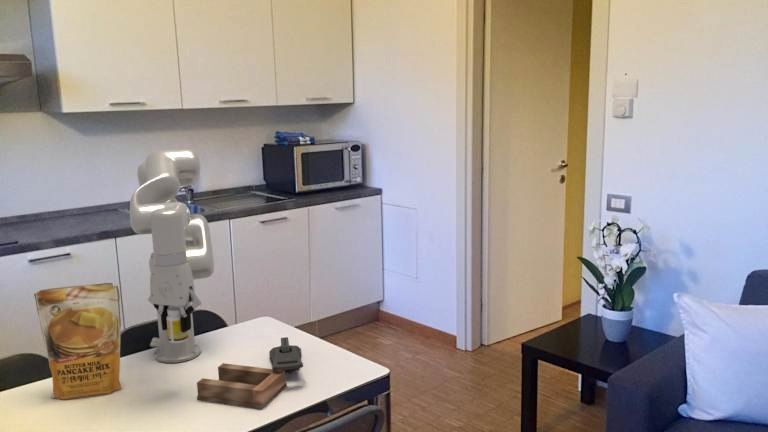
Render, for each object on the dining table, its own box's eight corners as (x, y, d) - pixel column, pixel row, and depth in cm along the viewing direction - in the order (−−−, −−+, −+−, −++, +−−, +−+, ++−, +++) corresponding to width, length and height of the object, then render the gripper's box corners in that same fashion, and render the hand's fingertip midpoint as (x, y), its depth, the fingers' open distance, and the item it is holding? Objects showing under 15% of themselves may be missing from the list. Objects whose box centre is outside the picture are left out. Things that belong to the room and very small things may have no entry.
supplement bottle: (192, 337, 165) (189, 305, 163) (180, 344, 160) (177, 312, 159) (176, 335, 166) (173, 303, 165) (164, 342, 162) (161, 310, 160)
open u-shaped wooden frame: (197, 400, 161) (195, 383, 160) (225, 378, 173) (224, 362, 173) (262, 409, 156) (261, 392, 155) (286, 386, 168) (285, 369, 167)
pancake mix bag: (50, 391, 168) (36, 287, 163) (129, 381, 173) (118, 279, 168) (44, 403, 162) (30, 295, 156) (126, 392, 167) (115, 287, 161)
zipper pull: (269, 367, 164) (268, 332, 188) (271, 392, 165) (269, 354, 189) (305, 364, 165) (299, 329, 189) (306, 388, 167) (300, 351, 191)
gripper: (131, 260, 158) (138, 331, 162) (191, 265, 153) (197, 338, 156) (151, 252, 165) (157, 321, 169) (209, 256, 160) (214, 327, 163)
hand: (176, 328), depth 162 cm, fingers closed on supplement bottle, 4 cm apart
